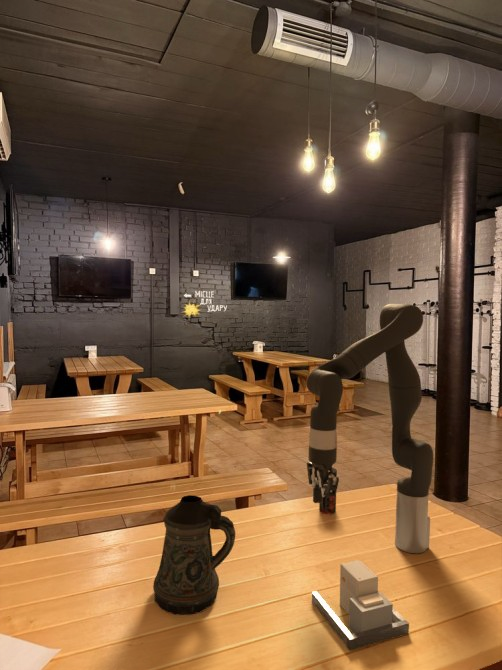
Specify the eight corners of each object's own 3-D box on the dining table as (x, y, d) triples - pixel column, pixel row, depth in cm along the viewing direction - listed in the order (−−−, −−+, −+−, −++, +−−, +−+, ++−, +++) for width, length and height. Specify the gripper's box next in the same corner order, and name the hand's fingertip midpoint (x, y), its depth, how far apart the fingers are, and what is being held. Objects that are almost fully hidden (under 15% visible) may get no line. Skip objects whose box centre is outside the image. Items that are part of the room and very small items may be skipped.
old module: (378, 619, 108) (379, 588, 107) (391, 634, 103) (392, 601, 102) (348, 627, 105) (349, 595, 104) (361, 642, 100) (362, 609, 100)
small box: (377, 620, 108) (379, 576, 107) (357, 625, 106) (358, 581, 105) (358, 599, 115) (359, 559, 114) (338, 604, 113) (340, 563, 112)
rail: (364, 589, 119) (364, 580, 119) (408, 633, 103) (408, 623, 103) (311, 601, 114) (311, 592, 114) (349, 650, 98) (350, 639, 98)
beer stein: (147, 583, 120) (147, 490, 119) (217, 568, 128) (218, 480, 126) (161, 624, 105) (161, 518, 104) (239, 603, 113) (241, 504, 111)
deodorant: (336, 508, 167) (338, 468, 166) (334, 515, 162) (335, 473, 161) (320, 506, 169) (321, 466, 168) (317, 512, 164) (318, 471, 163)
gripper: (349, 450, 118) (347, 515, 119) (322, 435, 132) (320, 494, 133) (323, 453, 116) (321, 519, 117) (298, 438, 129) (297, 497, 130)
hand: (321, 505), depth 125 cm, fingers open, 4 cm apart
